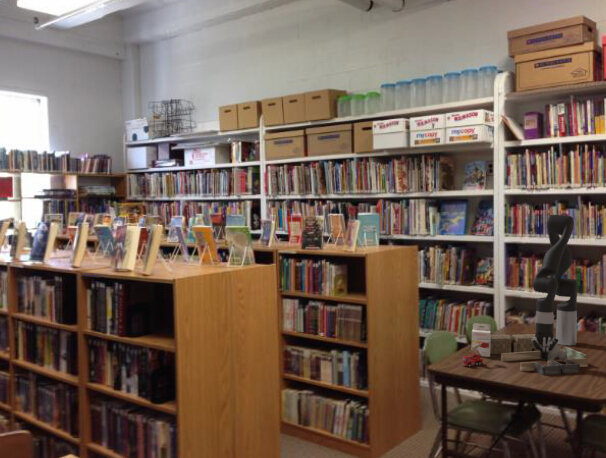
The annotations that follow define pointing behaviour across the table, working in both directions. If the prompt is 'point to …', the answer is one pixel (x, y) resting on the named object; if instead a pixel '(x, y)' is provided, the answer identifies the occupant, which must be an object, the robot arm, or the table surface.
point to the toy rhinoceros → (557, 354)
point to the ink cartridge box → (481, 338)
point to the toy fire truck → (476, 357)
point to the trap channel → (548, 362)
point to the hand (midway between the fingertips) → (543, 359)
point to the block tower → (512, 343)
